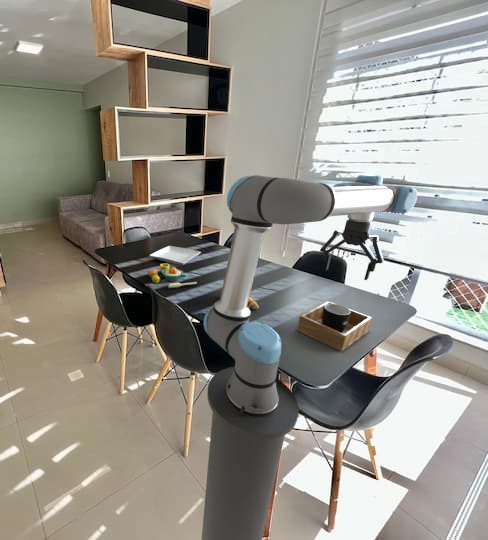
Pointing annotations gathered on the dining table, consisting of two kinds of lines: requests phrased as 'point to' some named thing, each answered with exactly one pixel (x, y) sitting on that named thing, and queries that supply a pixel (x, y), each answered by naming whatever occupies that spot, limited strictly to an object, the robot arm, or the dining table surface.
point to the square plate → (175, 255)
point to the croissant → (249, 303)
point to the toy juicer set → (169, 275)
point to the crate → (315, 329)
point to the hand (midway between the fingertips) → (345, 274)
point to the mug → (335, 316)
